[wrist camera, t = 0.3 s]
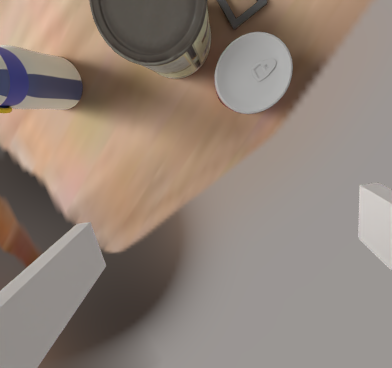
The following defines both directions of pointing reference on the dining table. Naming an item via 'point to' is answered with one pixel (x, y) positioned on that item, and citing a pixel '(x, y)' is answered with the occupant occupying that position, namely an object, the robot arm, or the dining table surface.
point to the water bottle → (36, 81)
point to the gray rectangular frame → (242, 18)
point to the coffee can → (156, 33)
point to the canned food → (253, 73)
